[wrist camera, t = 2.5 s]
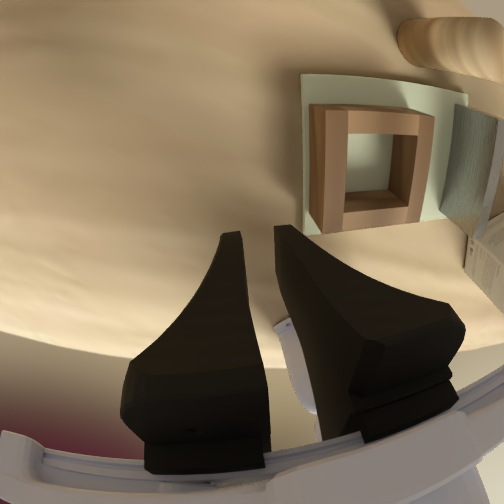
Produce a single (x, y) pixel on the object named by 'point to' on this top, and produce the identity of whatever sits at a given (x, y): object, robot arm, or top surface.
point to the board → (380, 145)
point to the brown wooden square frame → (335, 166)
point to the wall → (473, 169)
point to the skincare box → (488, 261)
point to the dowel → (455, 45)
